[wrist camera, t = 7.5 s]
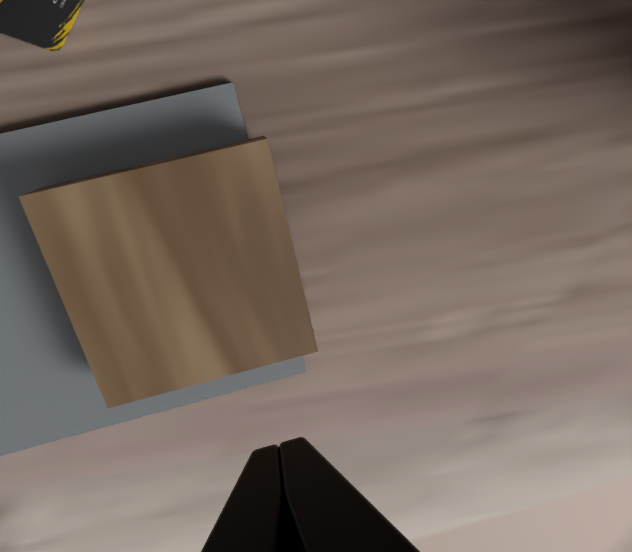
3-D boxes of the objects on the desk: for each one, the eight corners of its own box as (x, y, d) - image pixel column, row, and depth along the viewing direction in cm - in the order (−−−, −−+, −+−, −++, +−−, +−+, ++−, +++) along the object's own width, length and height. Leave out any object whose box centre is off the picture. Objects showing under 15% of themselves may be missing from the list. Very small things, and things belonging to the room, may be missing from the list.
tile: (267, 138, 16) (18, 196, 16) (318, 351, 19) (107, 408, 18) (262, 135, 18) (43, 186, 18) (309, 327, 21) (119, 378, 20)
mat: (233, 82, 18) (233, 82, 18) (304, 367, 22) (305, 371, 22) (-173, 172, 17) (-183, 173, 16) (-19, 456, 21) (-24, 462, 21)
